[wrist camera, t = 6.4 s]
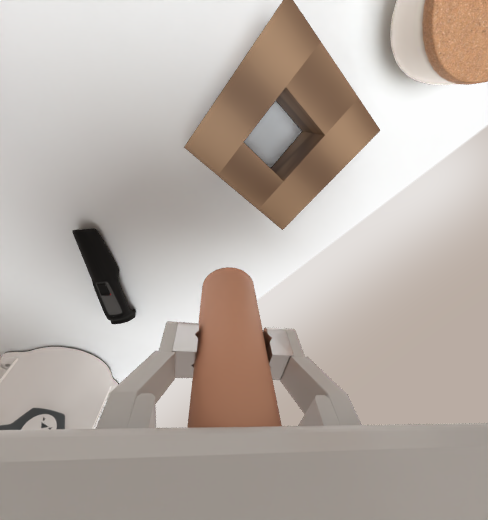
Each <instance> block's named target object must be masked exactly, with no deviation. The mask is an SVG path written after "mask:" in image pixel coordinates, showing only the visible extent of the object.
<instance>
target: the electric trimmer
mask: <svg viewBox="0 0 488 520" xmlns="http://www.w3.org/2000/svg"><path fill="white" fill-rule="evenodd" d="M73 235H74V237H75V239H76V242H77V244H78V247H79V249H80V252H81V254H82V257H83V259H84V262H85V264H86V266H87V269H88V272H89V274H90V276H91V279H92V282H93V286H94V288H95V291H96V294H97V296H98V299H99V301H100V303H101V306H102V308H103V311H104V313H105V315H106V317H107V319H108V320H111V323H112V324H121V323H125V322H128V321H130V320H132V319H133V318H135V313H136V311H135V310H131V309H130V308H129V306H128V304H127V301H126V299H125V296H124V294H123V291H122V289H121V286H120V284H119V281H118V275H119V269H118V266H117V264H116V262H115V261H114V259H113V257H112V255H111V253H110V252H109V250H108V248H107V246H106V245H105V243H104V241H103V239H102V237H101V236H100V234H99V232H98V231H97V230H96V229H84V230H73Z"/></svg>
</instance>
